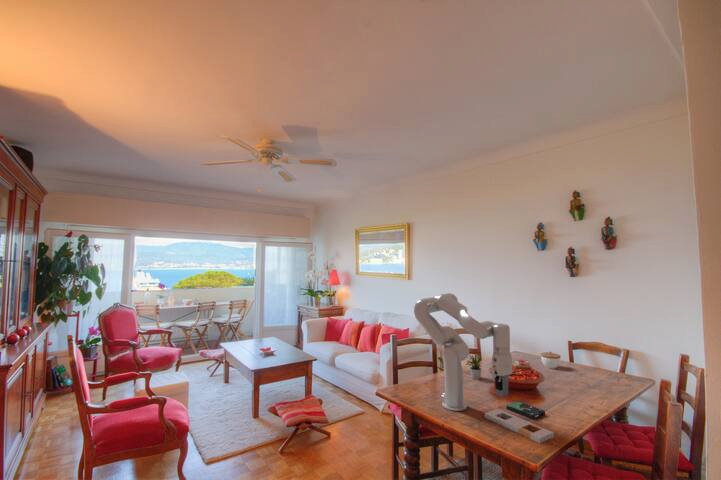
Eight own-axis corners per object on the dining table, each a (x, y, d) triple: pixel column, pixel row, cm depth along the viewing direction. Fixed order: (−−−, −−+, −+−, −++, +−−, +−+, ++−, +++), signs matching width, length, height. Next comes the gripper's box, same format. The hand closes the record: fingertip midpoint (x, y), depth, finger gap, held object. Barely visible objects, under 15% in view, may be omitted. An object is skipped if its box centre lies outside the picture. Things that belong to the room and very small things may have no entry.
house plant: (464, 373, 234) (463, 348, 235) (485, 375, 230) (484, 350, 231) (463, 379, 221) (463, 354, 222) (486, 382, 216) (485, 355, 218)
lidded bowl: (545, 363, 257) (544, 348, 258) (563, 367, 247) (563, 352, 248) (538, 367, 249) (537, 351, 250) (556, 371, 239) (556, 355, 240)
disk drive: (545, 416, 168) (517, 405, 181) (545, 410, 169) (517, 400, 181) (533, 421, 163) (505, 410, 175) (533, 415, 163) (505, 404, 176)
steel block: (495, 393, 164) (495, 372, 165) (501, 392, 166) (500, 371, 167) (502, 396, 161) (502, 375, 161) (508, 395, 163) (508, 373, 163)
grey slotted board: (484, 417, 166) (484, 413, 166) (498, 413, 171) (498, 408, 171) (539, 443, 142) (539, 438, 142) (553, 437, 147) (553, 432, 147)
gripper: (496, 354, 157) (496, 394, 156) (519, 349, 166) (519, 388, 165) (483, 350, 164) (483, 389, 163) (506, 346, 172) (506, 383, 171)
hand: (501, 388), depth 164 cm, fingers closed on steel block, 4 cm apart
